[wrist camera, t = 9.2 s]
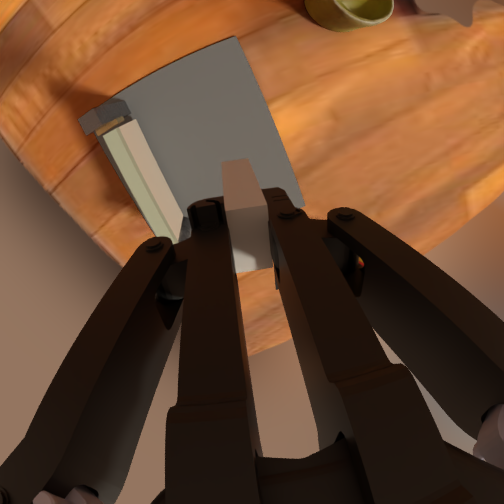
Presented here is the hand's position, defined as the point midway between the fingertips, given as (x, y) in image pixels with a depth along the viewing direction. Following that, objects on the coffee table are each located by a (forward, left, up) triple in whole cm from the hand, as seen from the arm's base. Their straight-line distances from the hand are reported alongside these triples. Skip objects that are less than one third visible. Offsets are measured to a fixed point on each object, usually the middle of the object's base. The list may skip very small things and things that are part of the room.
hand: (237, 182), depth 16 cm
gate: (+1, -11, -22) cm, 24 cm away
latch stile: (-9, -11, -22) cm, 26 cm away
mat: (+2, -5, -22) cm, 23 cm away
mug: (-12, +22, -23) cm, 34 cm away
